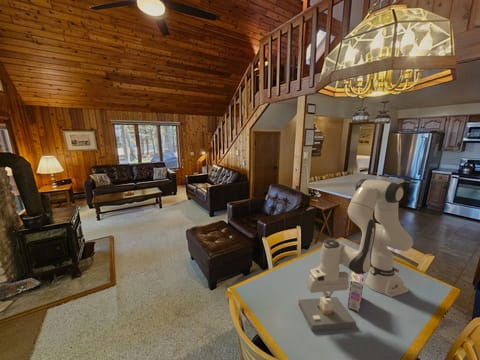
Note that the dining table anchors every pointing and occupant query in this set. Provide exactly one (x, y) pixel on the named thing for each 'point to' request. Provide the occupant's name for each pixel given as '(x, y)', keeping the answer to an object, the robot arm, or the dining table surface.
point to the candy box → (355, 291)
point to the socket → (325, 322)
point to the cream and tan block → (326, 306)
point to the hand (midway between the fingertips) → (327, 297)
